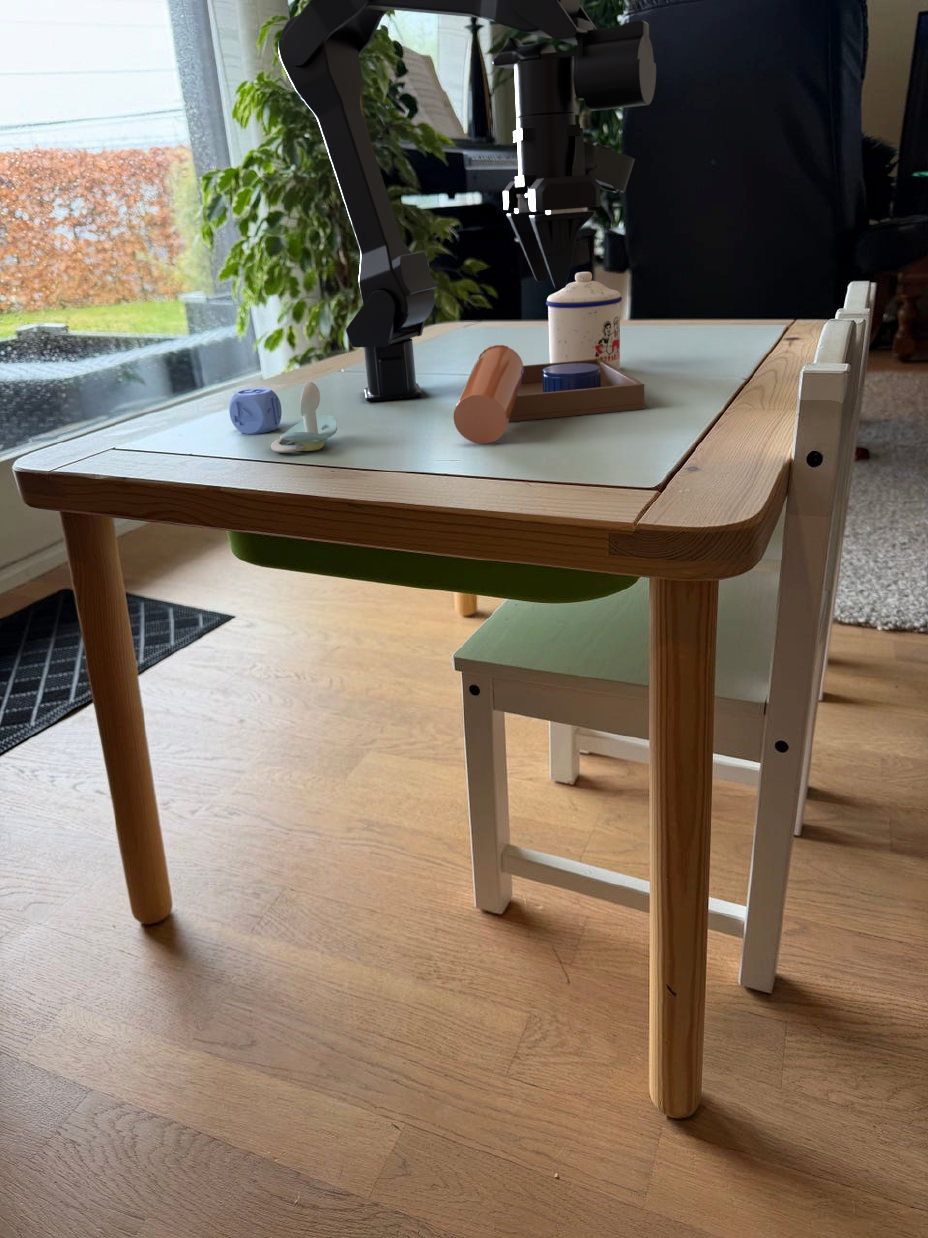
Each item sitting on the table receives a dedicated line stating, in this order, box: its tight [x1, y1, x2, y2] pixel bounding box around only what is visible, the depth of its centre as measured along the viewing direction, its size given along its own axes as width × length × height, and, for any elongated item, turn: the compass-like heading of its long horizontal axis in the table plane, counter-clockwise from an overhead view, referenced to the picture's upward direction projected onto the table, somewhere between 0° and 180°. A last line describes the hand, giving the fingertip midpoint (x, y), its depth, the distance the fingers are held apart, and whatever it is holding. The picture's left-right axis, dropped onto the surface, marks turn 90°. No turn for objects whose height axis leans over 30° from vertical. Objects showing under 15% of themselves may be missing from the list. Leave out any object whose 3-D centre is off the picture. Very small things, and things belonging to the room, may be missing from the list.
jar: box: [452, 344, 524, 445], centre depth 90 cm, size 5×5×11 cm
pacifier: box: [270, 380, 338, 454], centre depth 90 cm, size 7×6×6 cm
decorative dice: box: [228, 387, 283, 435], centre depth 99 cm, size 4×4×4 cm
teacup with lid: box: [545, 271, 623, 370], centre depth 117 cm, size 12×9×12 cm
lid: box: [543, 363, 601, 393], centre depth 103 cm, size 6×6×3 cm
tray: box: [508, 359, 645, 423], centre depth 103 cm, size 17×15×2 cm
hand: (550, 284), depth 99 cm, fingers open, 9 cm apart
